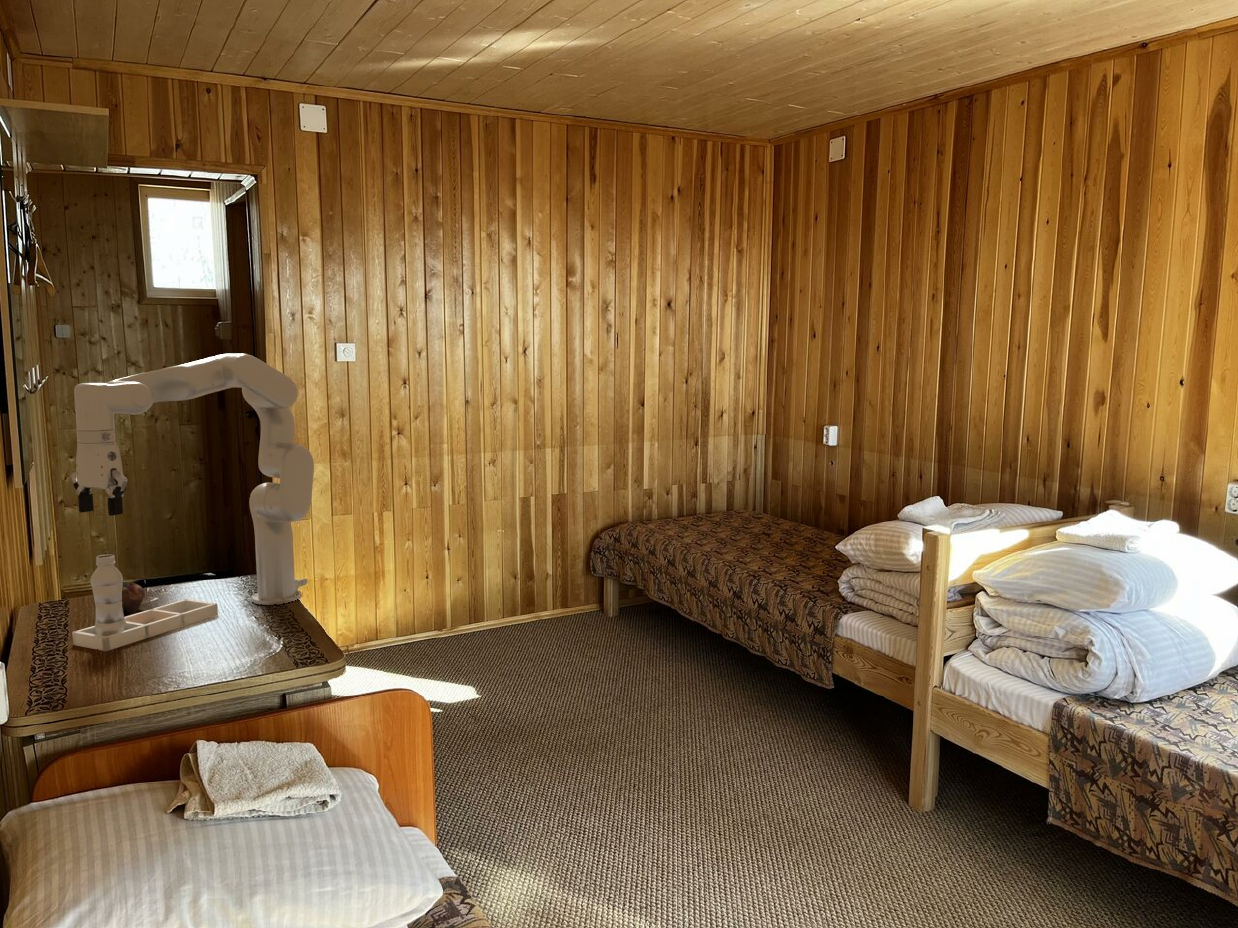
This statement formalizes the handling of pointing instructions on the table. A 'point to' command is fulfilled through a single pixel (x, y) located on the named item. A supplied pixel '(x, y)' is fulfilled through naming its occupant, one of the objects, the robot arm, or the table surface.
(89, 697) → the table surface
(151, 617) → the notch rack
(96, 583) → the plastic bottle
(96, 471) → the robot arm
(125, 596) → the decorative turtle
